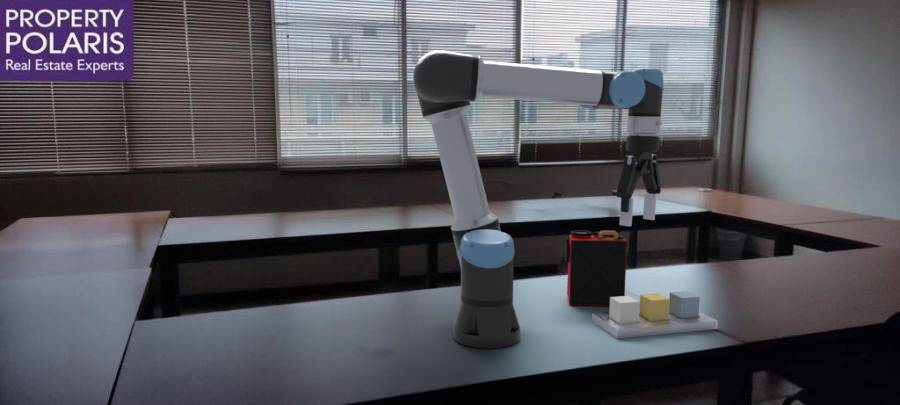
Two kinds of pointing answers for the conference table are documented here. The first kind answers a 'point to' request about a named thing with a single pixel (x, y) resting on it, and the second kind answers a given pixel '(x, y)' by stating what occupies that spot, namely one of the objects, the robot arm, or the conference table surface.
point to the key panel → (654, 325)
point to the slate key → (684, 304)
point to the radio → (595, 267)
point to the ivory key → (624, 309)
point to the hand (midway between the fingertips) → (637, 222)
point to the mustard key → (654, 307)
